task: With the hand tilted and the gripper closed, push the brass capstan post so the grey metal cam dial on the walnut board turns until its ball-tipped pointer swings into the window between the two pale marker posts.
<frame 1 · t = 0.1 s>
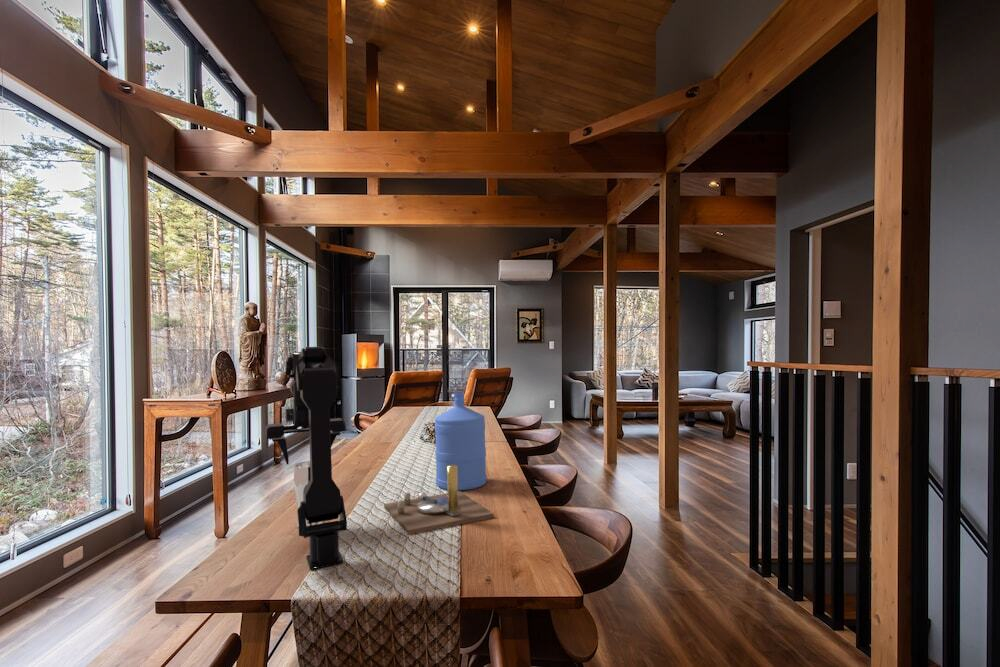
hand: (306, 461, 132), 15 cm above the table, tool pointing down, fingers open, 9 cm apart
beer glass: (310, 525, 129), on the table
walnut board: (436, 512, 135), on the table
cam dial: (437, 484, 135), point 7 cm above the table, hinge at 0.0°
water jug: (461, 484, 161), on the table
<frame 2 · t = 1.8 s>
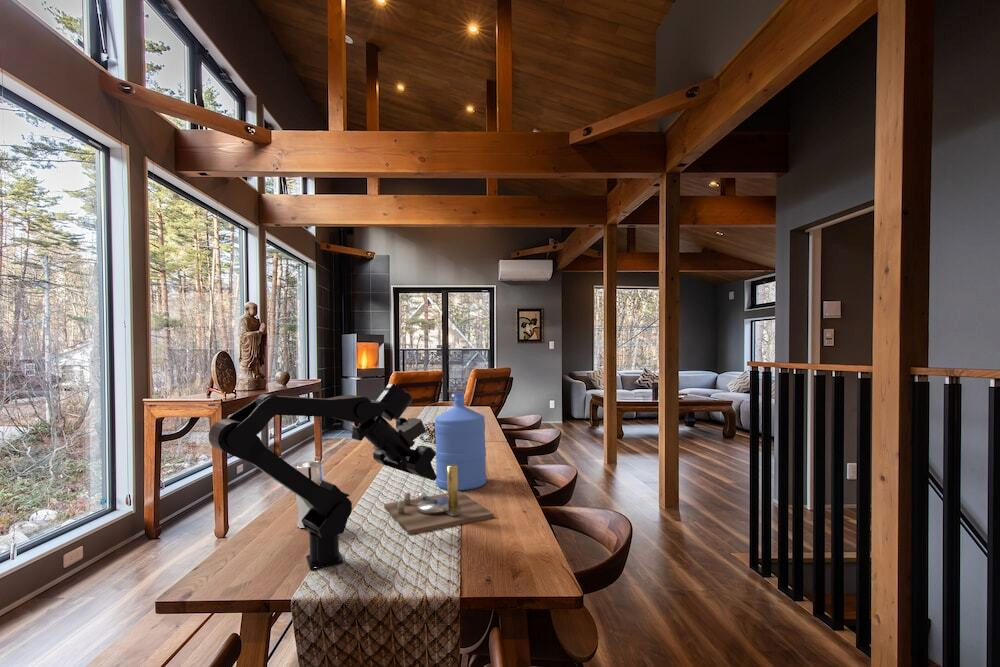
hand: (424, 475, 125), 12 cm above the table, tool tilted 45°, fingers open, 8 cm apart
nothing on the table moved.
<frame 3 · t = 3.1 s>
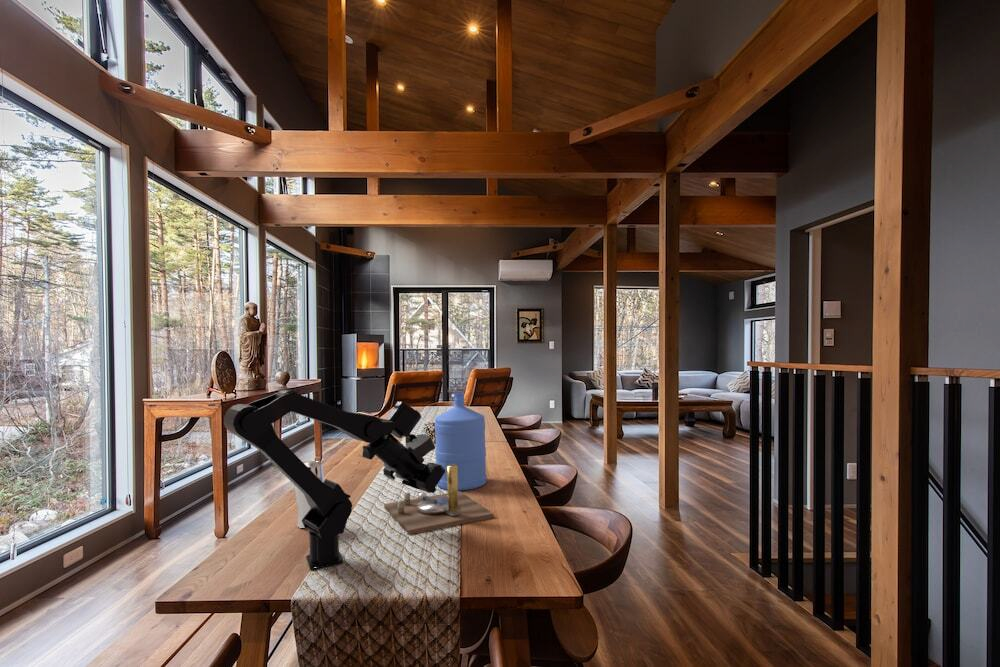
hand: (434, 491, 126), 8 cm above the table, tool tilted 45°, fingers closed
nothing on the table moved.
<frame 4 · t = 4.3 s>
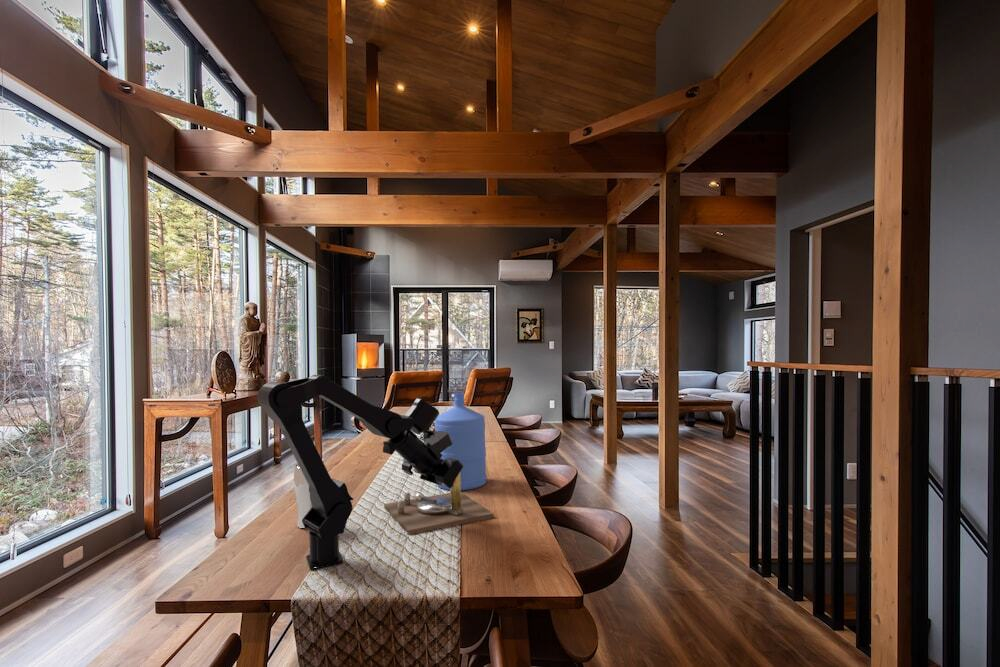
hand: (451, 486, 130), 8 cm above the table, tool tilted 45°, fingers closed, pressing on cam dial
cam dial: (437, 484, 135), point 7 cm above the table, hinge at 7.9°, touching gripper
everything else where it was.
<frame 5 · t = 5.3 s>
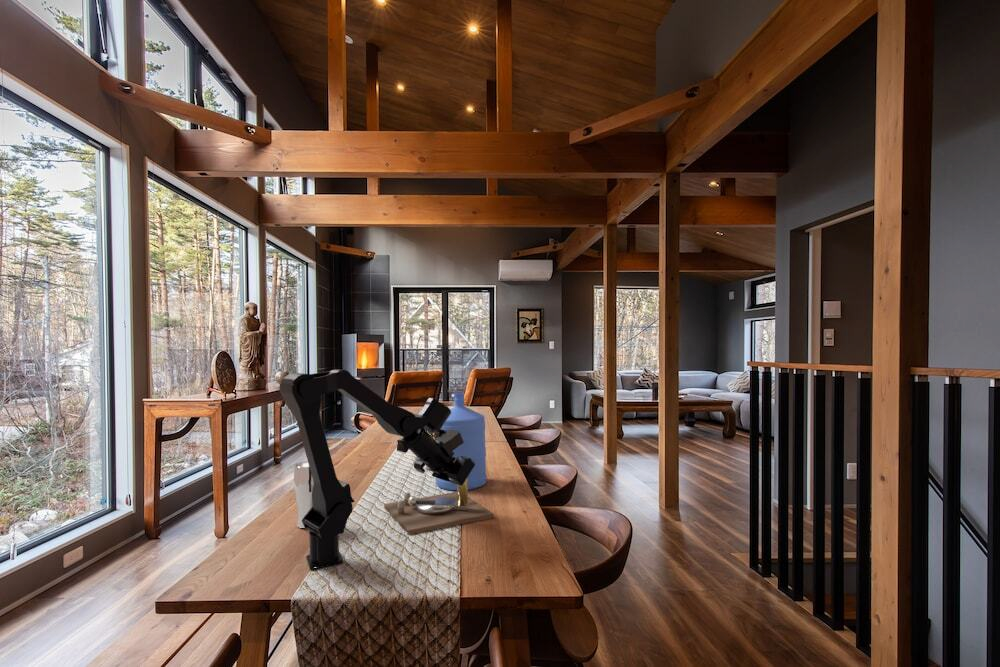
hand: (462, 483, 132), 8 cm above the table, tool tilted 45°, fingers closed
cam dial: (437, 484, 135), point 7 cm above the table, hinge at 37.7°
everything else where it was.
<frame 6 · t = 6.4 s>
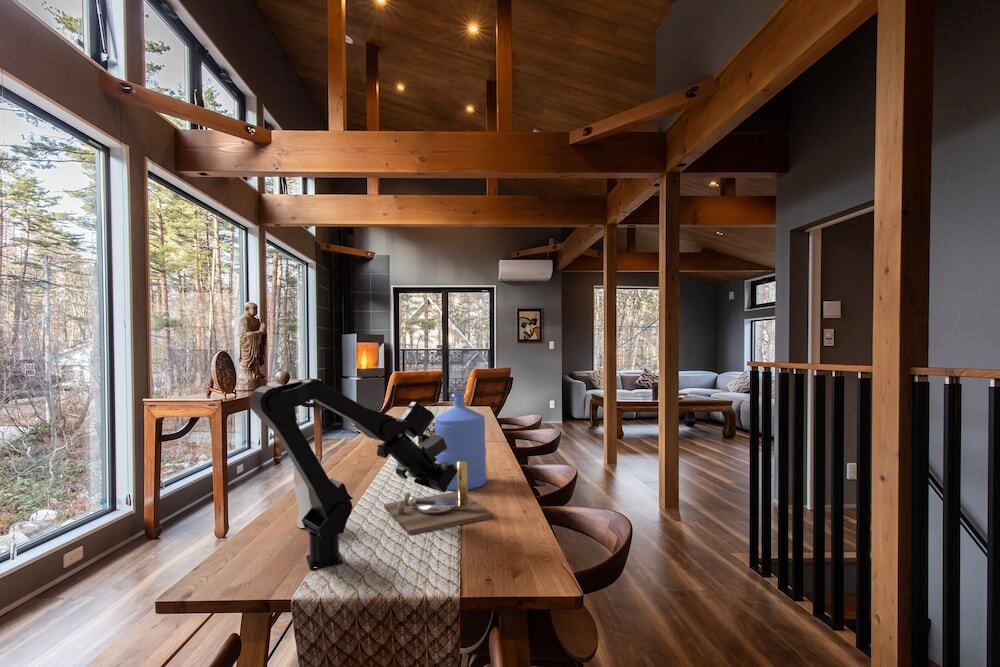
hand: (445, 490, 128), 8 cm above the table, tool tilted 45°, fingers closed
nothing on the table moved.
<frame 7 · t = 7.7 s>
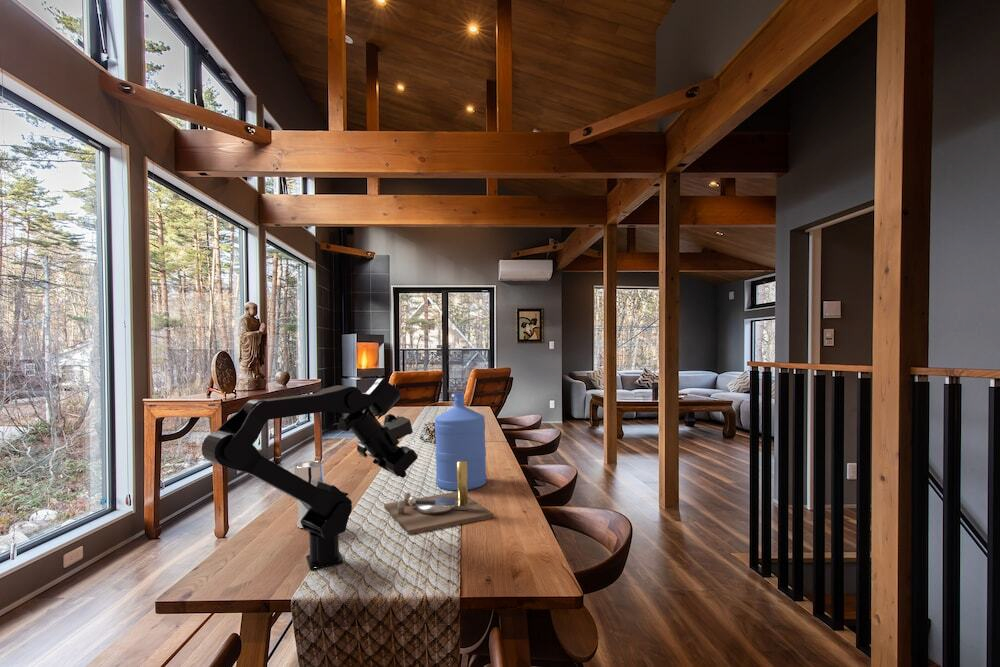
hand: (404, 476, 123), 13 cm above the table, tool tilted 40°, fingers closed
nothing on the table moved.
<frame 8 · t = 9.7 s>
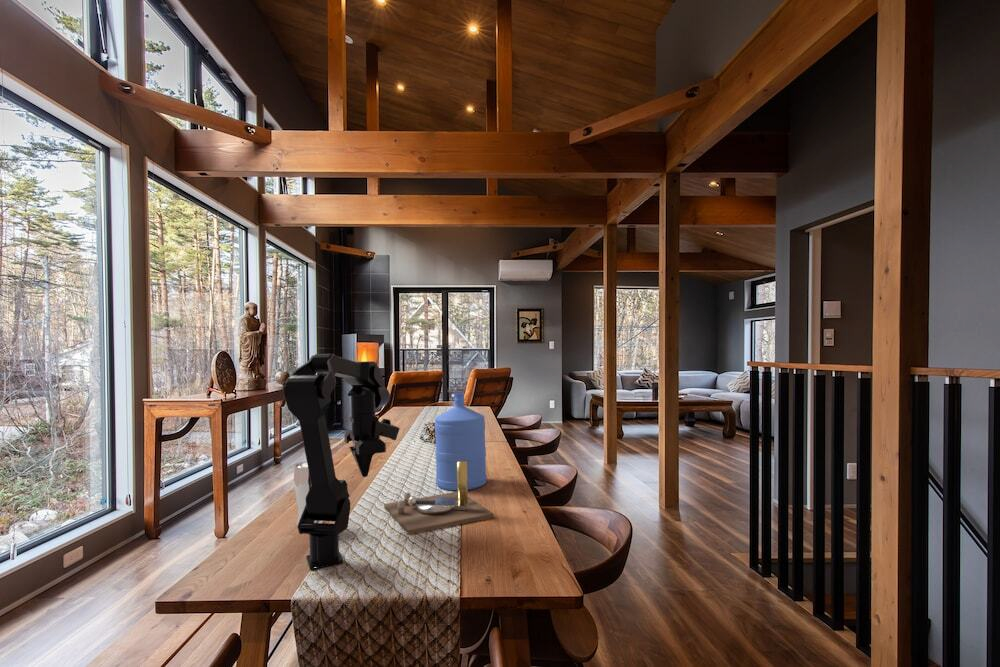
hand: (364, 476, 127), 12 cm above the table, tool pointing down, fingers closed
nothing on the table moved.
at the end: cam dial at +38° (first picture: +0°) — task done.
